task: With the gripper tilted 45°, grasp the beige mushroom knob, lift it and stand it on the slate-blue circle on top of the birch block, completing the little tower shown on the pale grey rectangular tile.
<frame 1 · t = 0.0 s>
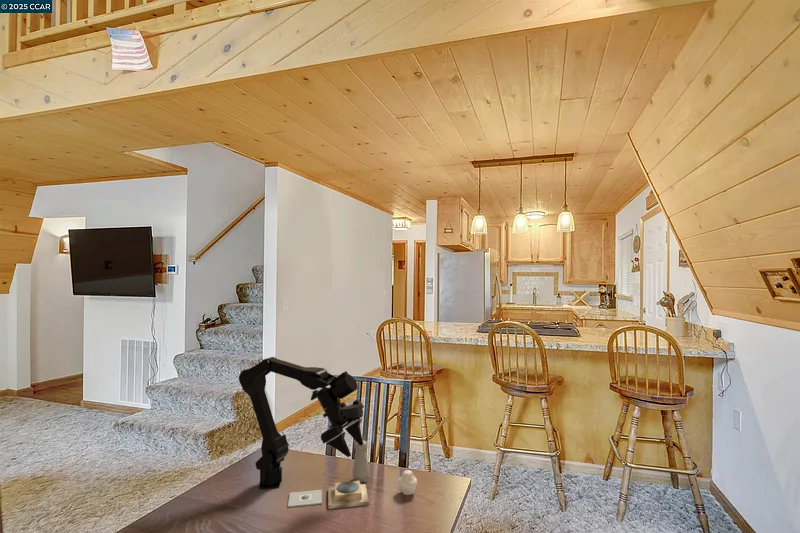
hand: (355, 450, 130), 15 cm above the table, tool tilted 35°, fingers open, 9 cm apart
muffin: (407, 493, 134), on the table
pale grey rectangular tile: (305, 498, 130), on the table
foundation: (347, 497, 131), on the table
beige mushroom knob: (360, 480, 142), on the table
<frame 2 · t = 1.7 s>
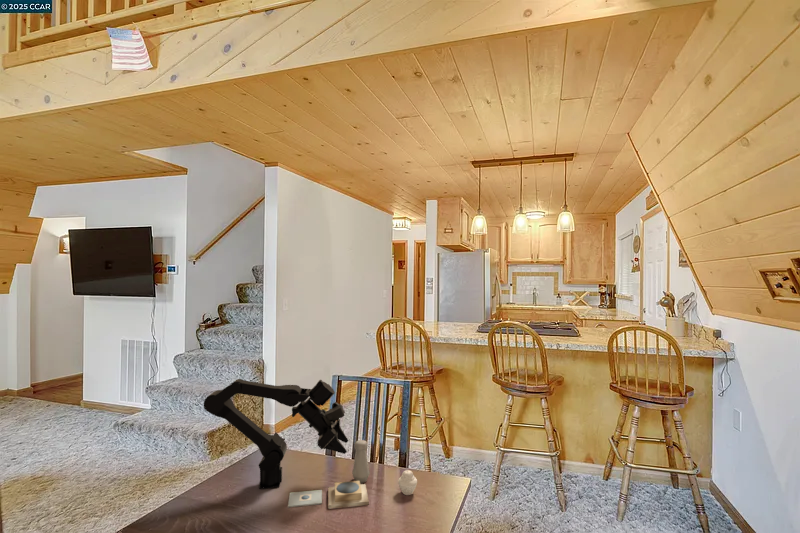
hand: (346, 447, 142), 11 cm above the table, tool tilted 45°, fingers open, 9 cm apart
nothing on the table moved.
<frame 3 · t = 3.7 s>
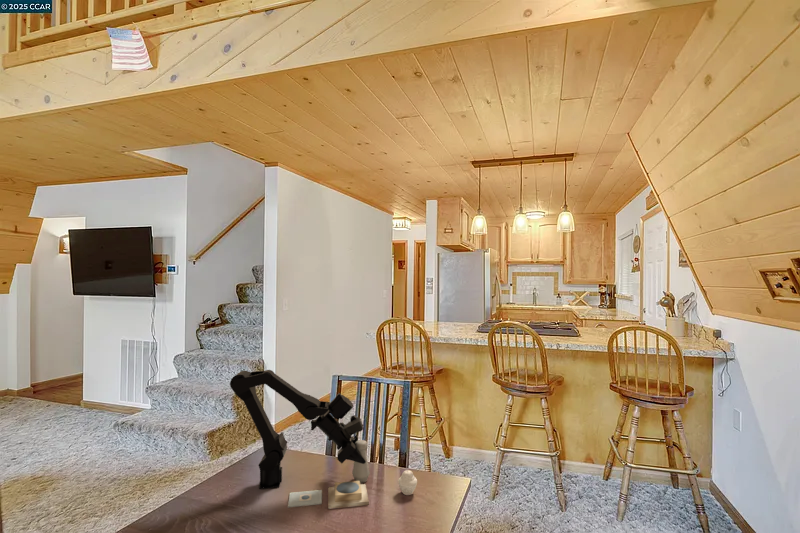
hand: (365, 460, 143), 7 cm above the table, tool tilted 45°, fingers closed on beige mushroom knob, 3 cm apart
beige mushroom knob: (360, 480, 142), on the table, touching gripper
everything else where it was.
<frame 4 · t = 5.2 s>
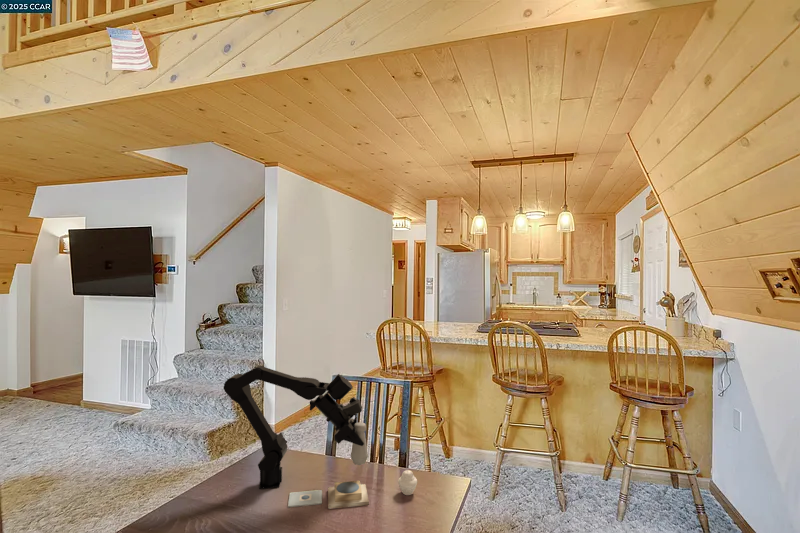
hand: (363, 442, 141), 13 cm above the table, tool tilted 45°, fingers closed on beige mushroom knob, 3 cm apart
beige mushroom knob: (359, 463, 141), point 6 cm above the table, touching gripper
everything else where it was.
when the fingers open (11 cm above the table, at t = 6.5 s): beige mushroom knob drops 1 cm, resting on foundation.
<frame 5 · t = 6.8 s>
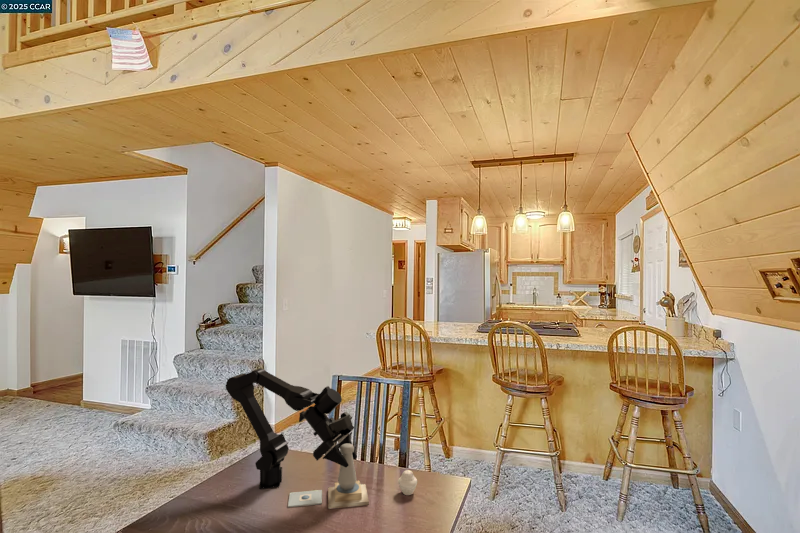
hand: (351, 462, 131), 11 cm above the table, tool tilted 45°, fingers open, 6 cm apart
beige mushroom knob: (347, 487, 131), point 3 cm above the table, touching foundation
everything else where it was.
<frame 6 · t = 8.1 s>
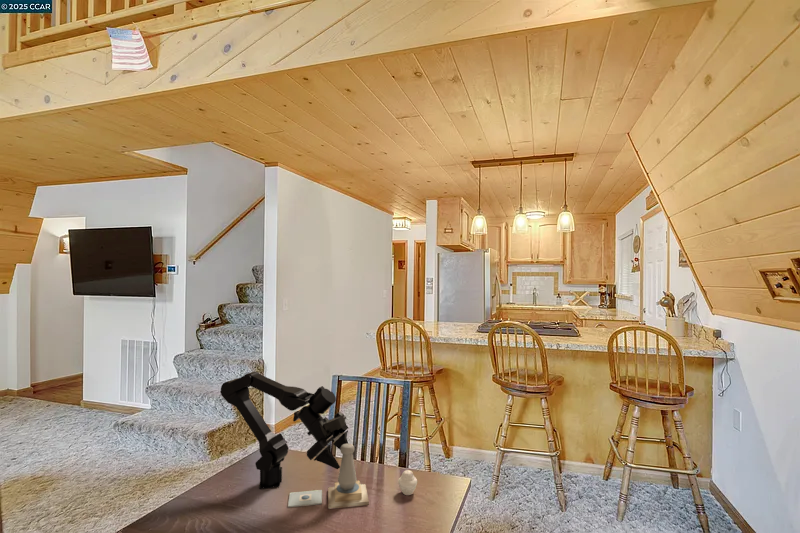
hand: (345, 461, 132), 11 cm above the table, tool tilted 45°, fingers open, 9 cm apart
nothing on the table moved.
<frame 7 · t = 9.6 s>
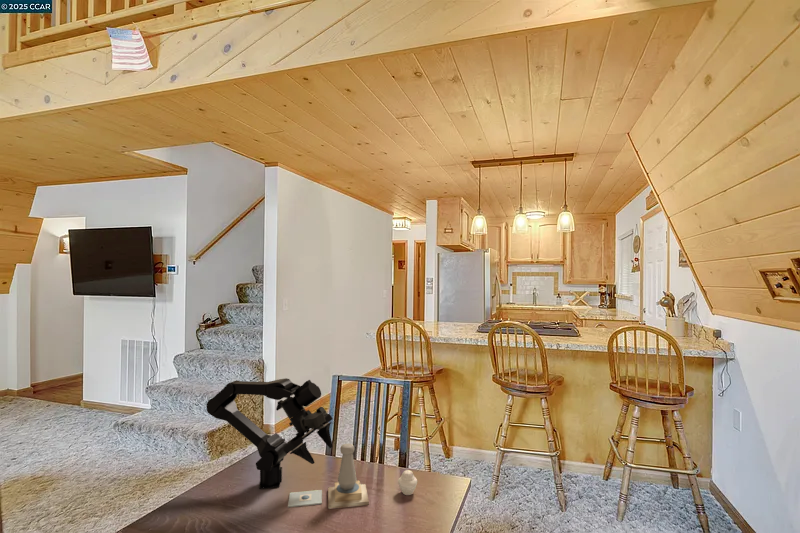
hand: (322, 455, 136), 11 cm above the table, tool tilted 35°, fingers open, 9 cm apart
nothing on the table moved.
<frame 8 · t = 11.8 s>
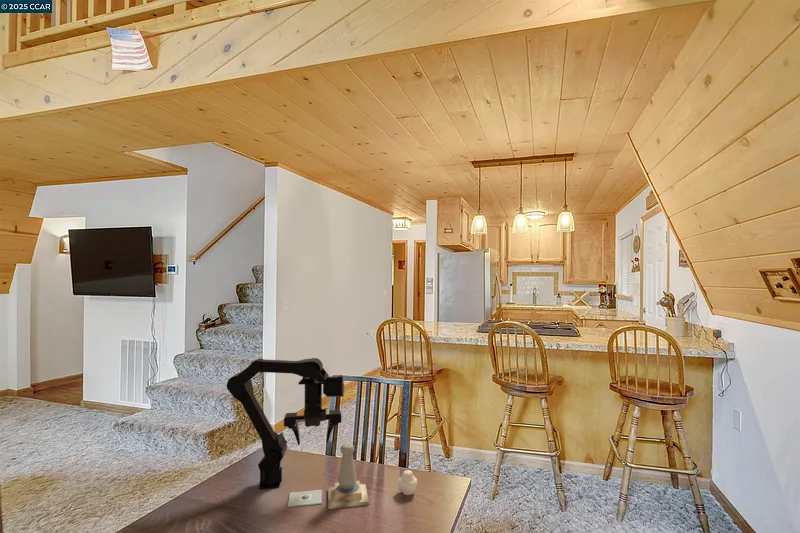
hand: (313, 443, 141), 13 cm above the table, tool pointing down, fingers open, 9 cm apart
nothing on the table moved.
at the end: beige mushroom knob 0.4 cm off-centre on the foundation, point 2.9 cm above the foundation's base; beige mushroom knob tilted 0°; the gripper is holding nothing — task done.
